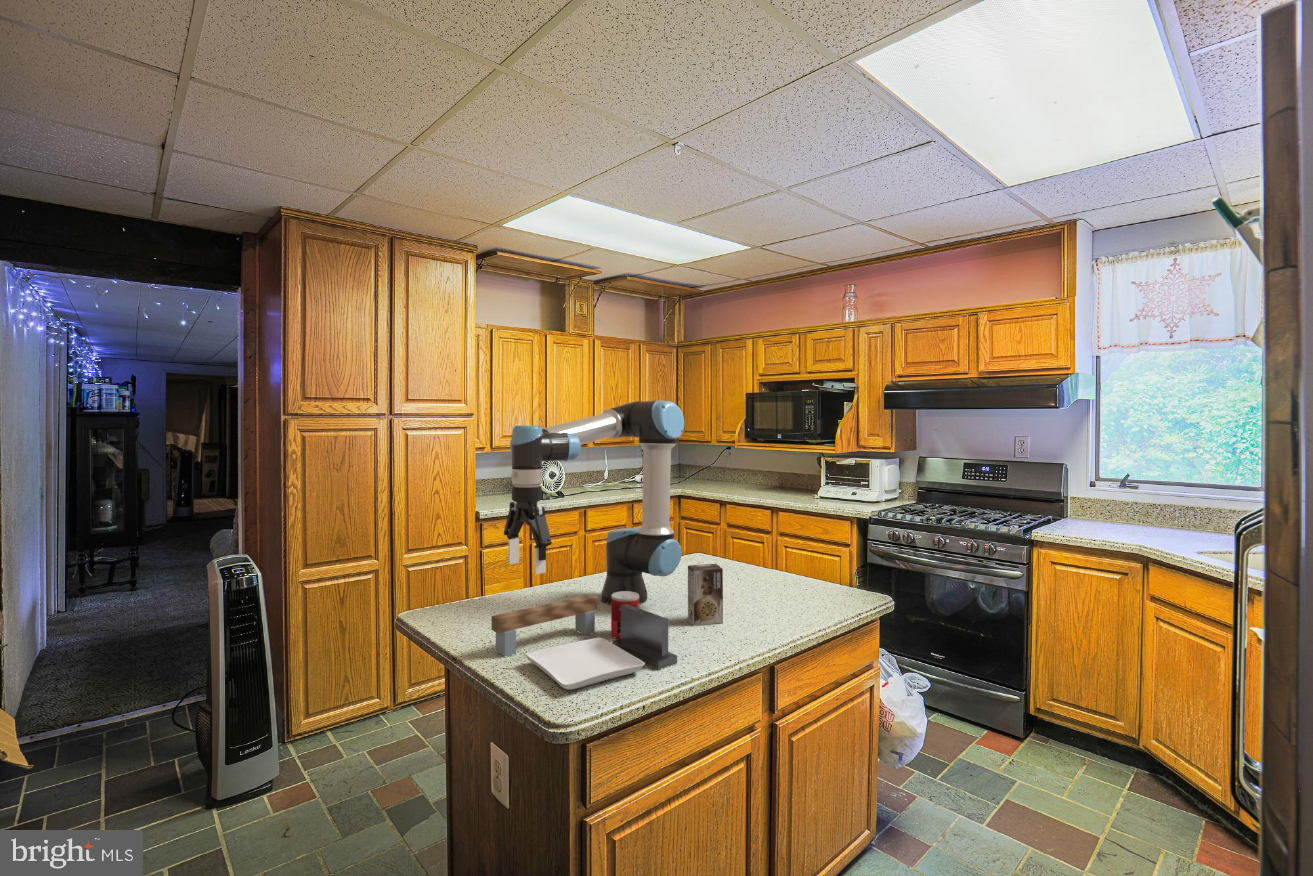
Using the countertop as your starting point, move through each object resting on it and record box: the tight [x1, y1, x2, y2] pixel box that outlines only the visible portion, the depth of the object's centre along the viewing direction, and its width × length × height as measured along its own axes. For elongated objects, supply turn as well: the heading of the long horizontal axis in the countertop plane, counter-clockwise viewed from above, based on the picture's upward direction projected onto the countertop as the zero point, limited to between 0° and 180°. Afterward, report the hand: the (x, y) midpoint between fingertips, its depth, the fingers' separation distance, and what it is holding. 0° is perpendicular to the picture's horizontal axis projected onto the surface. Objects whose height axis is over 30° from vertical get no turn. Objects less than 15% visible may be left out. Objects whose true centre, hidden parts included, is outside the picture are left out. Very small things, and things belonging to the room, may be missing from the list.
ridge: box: [611, 604, 678, 670], centre depth 154 cm, size 6×18×11 cm, turn 41°
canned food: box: [610, 591, 640, 640], centre depth 169 cm, size 8×8×11 cm
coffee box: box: [687, 563, 724, 626], centre depth 181 cm, size 9×6×16 cm
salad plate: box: [525, 637, 646, 690], centre depth 145 cm, size 21×21×3 cm
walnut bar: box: [491, 594, 599, 634], centre depth 164 cm, size 30×4×4 cm, turn 131°
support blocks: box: [495, 610, 596, 657], centre depth 164 cm, size 27×5×6 cm, turn 131°
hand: (526, 568), depth 159 cm, fingers open, 13 cm apart
